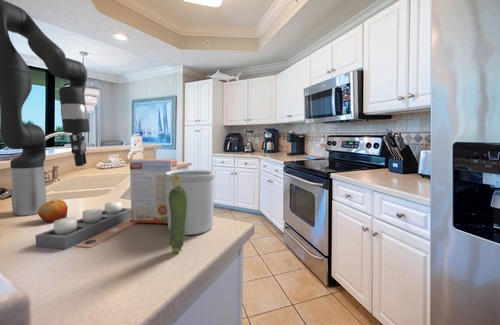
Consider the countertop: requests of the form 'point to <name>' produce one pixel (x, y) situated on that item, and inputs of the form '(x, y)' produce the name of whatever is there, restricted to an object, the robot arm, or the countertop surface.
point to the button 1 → (65, 226)
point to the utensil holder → (194, 199)
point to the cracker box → (150, 189)
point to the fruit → (53, 210)
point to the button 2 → (113, 208)
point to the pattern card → (106, 234)
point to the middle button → (92, 215)
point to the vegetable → (177, 214)
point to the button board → (81, 231)
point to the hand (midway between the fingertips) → (81, 165)
